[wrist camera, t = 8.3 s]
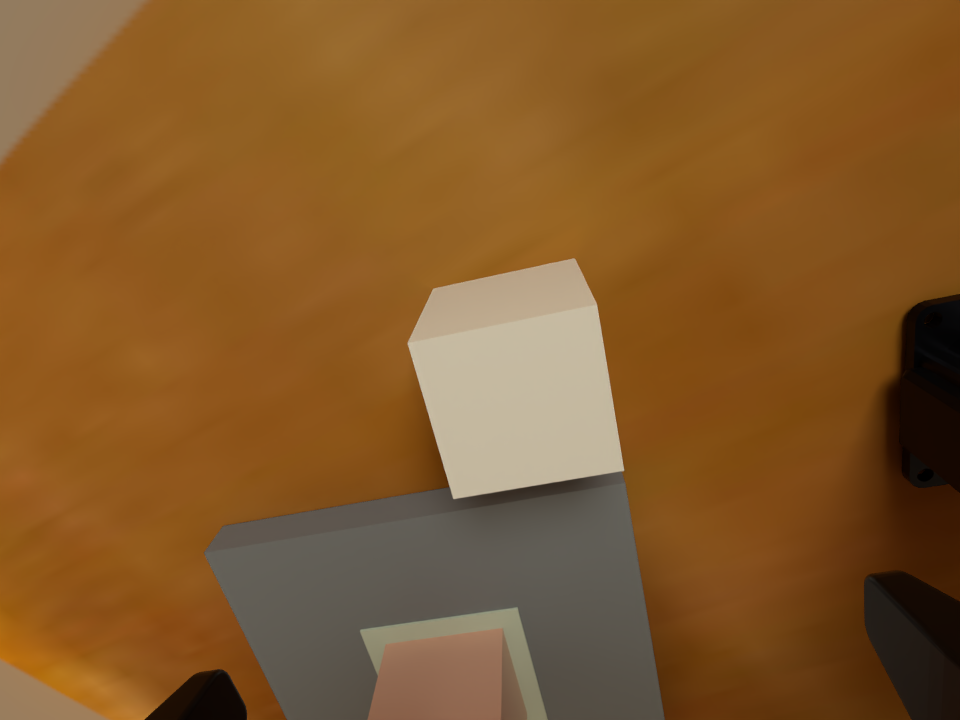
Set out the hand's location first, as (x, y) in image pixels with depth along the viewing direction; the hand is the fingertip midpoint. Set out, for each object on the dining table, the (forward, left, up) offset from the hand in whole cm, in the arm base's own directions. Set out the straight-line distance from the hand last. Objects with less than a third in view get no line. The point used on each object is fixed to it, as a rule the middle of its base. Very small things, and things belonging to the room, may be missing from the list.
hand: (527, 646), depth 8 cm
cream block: (0, 0, -12) cm, 12 cm away
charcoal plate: (+5, +12, -12) cm, 18 cm away
